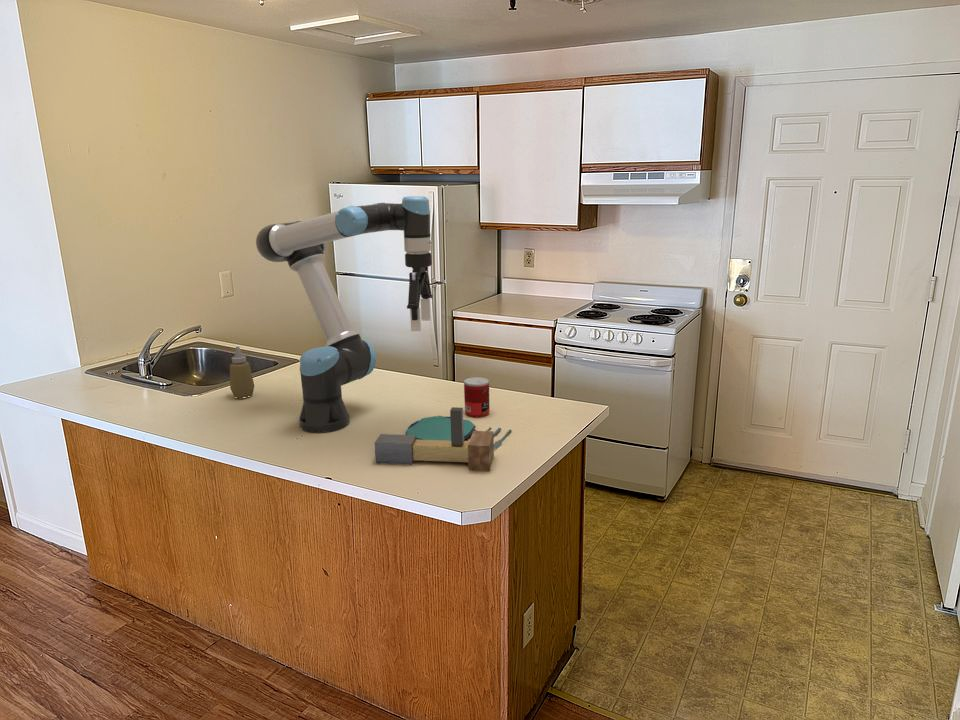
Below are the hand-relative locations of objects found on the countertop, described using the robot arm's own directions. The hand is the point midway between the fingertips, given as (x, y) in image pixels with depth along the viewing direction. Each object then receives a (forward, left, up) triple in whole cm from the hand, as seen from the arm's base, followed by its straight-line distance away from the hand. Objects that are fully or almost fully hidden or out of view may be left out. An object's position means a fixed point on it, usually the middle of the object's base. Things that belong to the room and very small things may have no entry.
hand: (421, 325), depth 199 cm
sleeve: (-3, -24, -32) cm, 40 cm away
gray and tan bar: (+9, -24, -32) cm, 41 cm away
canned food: (+14, +13, -32) cm, 37 cm away
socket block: (+20, -24, -32) cm, 45 cm away
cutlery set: (+10, -6, -32) cm, 35 cm away
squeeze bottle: (-70, +23, -32) cm, 80 cm away
